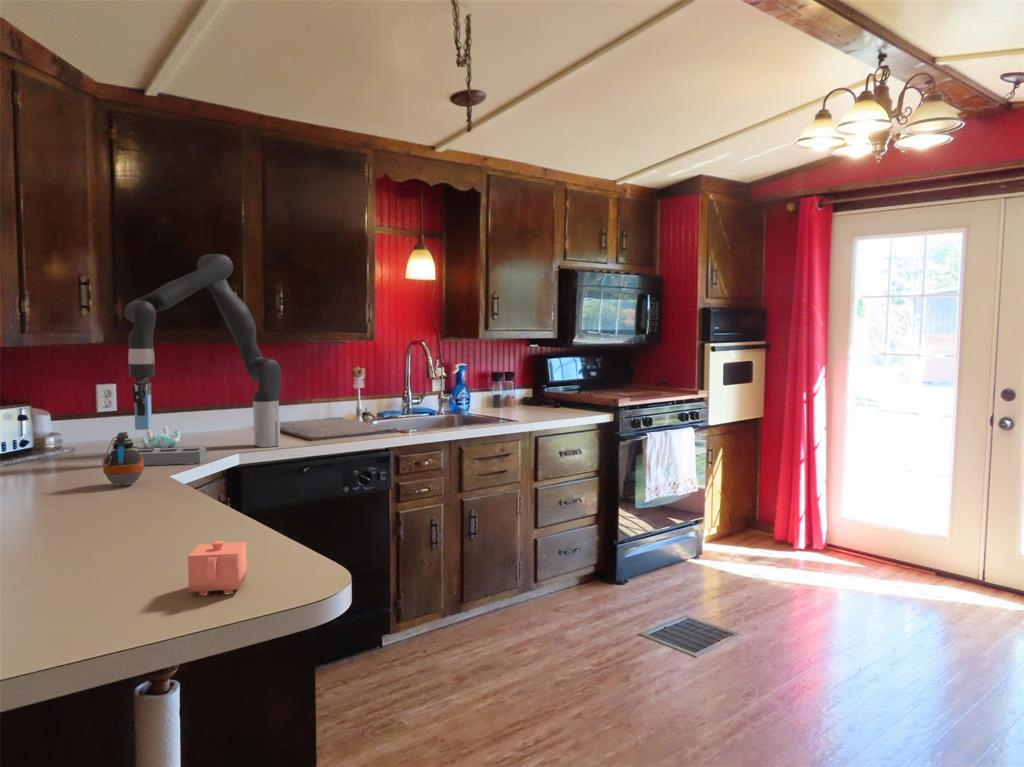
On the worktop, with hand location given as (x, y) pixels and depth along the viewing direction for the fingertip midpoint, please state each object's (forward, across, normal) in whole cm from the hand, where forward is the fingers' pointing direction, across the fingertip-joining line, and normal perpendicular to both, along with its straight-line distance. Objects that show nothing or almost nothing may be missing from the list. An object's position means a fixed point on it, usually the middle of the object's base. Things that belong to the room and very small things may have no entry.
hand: (143, 414), depth 233 cm
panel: (+16, 0, -7) cm, 18 cm away
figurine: (+17, +38, +4) cm, 42 cm away
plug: (+5, 0, 0) cm, 5 cm away
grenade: (+17, -36, -4) cm, 40 cm away
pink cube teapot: (+17, -127, -45) cm, 136 cm away
